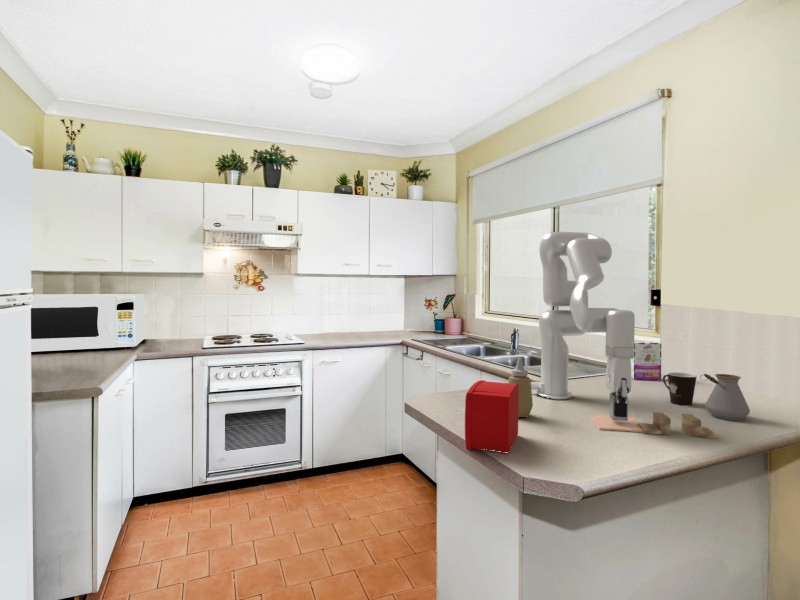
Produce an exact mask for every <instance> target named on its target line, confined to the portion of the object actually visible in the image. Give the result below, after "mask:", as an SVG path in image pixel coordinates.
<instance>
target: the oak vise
mask: <svg viewBox="0 0 800 600" xmlns="http://www.w3.org/2000/svg"><path fill="white" fill-rule="evenodd" d="M652 414H653V416H652V423H647V422H645V423H644V422H641V423H637V424H638V425H639V426H640V427H641V428H642V429H643V430H644V434H645V433H649V434H648V435H655V434H661V435H663V434H670V435H671V421H672V420H671V417H669V416H668V415H666V413H664V412H658V411H653V413H652ZM681 430H682V431H683V432H684V431H685V432H684V433H685V434H687V435H688V434H689V435H688V436H690V437H694V436H700V437H699V438H702V437H707V438H706V439H716V440H717V439H719V434H718V433H716V432H715V431H713V430H712V429H710V428H709V427H707V426H702V420H701V419H700V418H698V417H697V416H695V415H694V414H691V413H682V414H681Z"/></svg>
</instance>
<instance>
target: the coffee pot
mask: <svg viewBox="0 0 800 600" xmlns="http://www.w3.org/2000/svg"><path fill="white" fill-rule="evenodd" d="M702 376H704V377H705V378H706V379H704V380H703V379H702ZM714 376H715V377H716V379H715V378H714V377H713V376H711V375H710V374H707V373H704V374H701V375H700V376H699V378H700V380H702V381H704V382H705V381H708V380H709V381H710V382H712V383H714V384H715V386H714V388H713V390H712V391H711V393H710V394H709V397H708V399H707V400H706V401H705V403H704V406H705V408H706V410H707V412H708V413H710V414H711V416H713V417H715V418H717V419H722V420H728V421H741V420H742V419H744V418H746V417H747V416H748V415H750V411H751V409H750V407H749V405H748V402H747V401H746V398H745V396H744V394H743V391H742V390H741V388H740V386H739V381H740V380H741V376H739V375H734V374H727V373H715V374H714Z"/></svg>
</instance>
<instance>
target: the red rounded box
mask: <svg viewBox="0 0 800 600" xmlns="http://www.w3.org/2000/svg"><path fill="white" fill-rule="evenodd" d="M464 409H465V410H464V441H465V449H466V450H472V449H473V450H478V451H479V450H480V449H485V450H486V449H487V450H495V451H501V452H509V451H510V452H511V450H512V448H513V446H514V444H515V442H516V440H517V438H518V436H519V418H518V414H519V384H511V383H508V382H498V381H486V380H476V382H474V383H473V384H472V385H471V386H470V387H469V389H468V391H467V392H466V394H465V407H464ZM517 435H518V436H517ZM516 437H517V438H516ZM515 439H516V440H515ZM514 441H515V442H514ZM513 443H514V444H513ZM512 445H513V446H512ZM511 447H512V448H511ZM510 449H511V450H510ZM485 450H484V451H485ZM480 451H481V450H480ZM510 452H509V453H510Z"/></svg>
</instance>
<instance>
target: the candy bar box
mask: <svg viewBox="0 0 800 600" xmlns="http://www.w3.org/2000/svg"><path fill="white" fill-rule="evenodd" d="M631 380H634V381H658V380H659V381H660V382H661V381H662V342H660V341H634V358H633V359H631ZM659 381H658V382H659Z"/></svg>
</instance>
